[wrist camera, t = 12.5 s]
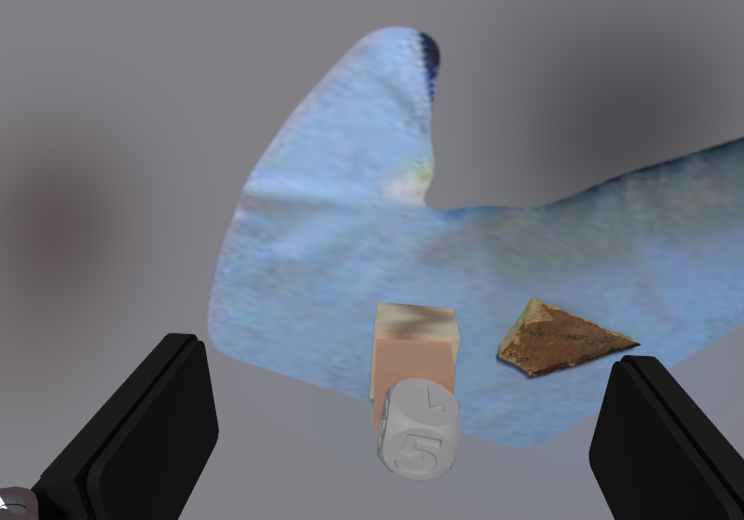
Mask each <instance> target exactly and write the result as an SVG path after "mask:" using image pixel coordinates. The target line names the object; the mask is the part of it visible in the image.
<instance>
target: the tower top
mask: <svg viewBox="0 0 744 520" xmlns="http://www.w3.org/2000/svg"><path fill="white" fill-rule="evenodd" d="M455 374H456V372H455V366H454V360H453V355H452V349H451V344H450V342H445V341H422V340H399V339H377V348H376V360H375V382H374V430H379V427H380V420H381V414H382V409H383V404H384V399H385V396H386V392H387V389H388V388H389V387H390V386H392V385H393V384H395V383H397V382H399V381H402V380H405V379H410V378H422V379H427V380H430V381H433V382H436V383H438V384H440V385H441V386H443V387H445V388H446V389H447V390H448V391H449V392H450V393H451V394H452V395H453V392H454V383H455Z"/></svg>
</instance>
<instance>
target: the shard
mask: <svg viewBox="0 0 744 520" xmlns="http://www.w3.org/2000/svg"><path fill="white" fill-rule="evenodd" d="M636 346H640V344H639V343H637V342H636V341H634V340H633V339H632V338H631V337H628V336H625V335H623V334H620V333H617V332H614V331H611V330H606V329H604V328H601V327H600V326H598V325H596V324H595V323H593V322H590V321H587V320H584V319H583V318H581V317H579V316H576V315H574V314H571V313H569V312H567V311H565V310H563V309H562V308H559V307H556V306H553V305H549V304H547V303H545V302H542V301H541V300H537V299H535V298H531V299H530V300H529V302H528V304H527V306H526V307H525V309H524V310H523V312H522V314H521V315H520V317H519V319H518V320H517V322H516V324H515V325H514V326H513V327H512V328H511V330H510V331H509V332H508V333H507V335H506V336H505V338H504V339H503V340H502V341H501V343H500V346H499V352H498V355H499V357H500V358H502V359H504V360H506V361H509V362H511V363H513V364H516V365H517V366H519V367H521V368H522V369H523V370H525V371H526V372H528V374H529V376H530V378H531V377H535V376H540V375H543V374H548V373H551V372H554V371H556V370H559V369H566V368H569V367H572V366H576V365H580V364H583V363H586V362H590V361H592V360H595V359H599V358H601V357H604V356H607V355H609V354H611V353H615V352H617V351H622V350H625V349H630V348H633V347H636Z"/></svg>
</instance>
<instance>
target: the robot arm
mask: <svg viewBox="0 0 744 520" xmlns="http://www.w3.org/2000/svg"><path fill="white" fill-rule="evenodd" d="M218 433H219V428H218V422H217V416H216V410H215V403H214V398H213V392H212V385H211V380H210V374H209V368H208V362H207V356H206V350H205V345H204V343H203V342H202V341H198V339H197V337H196V335H194V334H178V333H169V334H167V335H166V336H165V337H164V338H163V339H162V341H161V342H160V343H159V344H158V345H157V346H156V347H155V348H154V349H153V351H152V352H151V353H150V354H149V355H148V356H147V357H146V359H145V360H144V361H143V362H142V363H141V364H140V365H139V367H137V369H136V370H135V371H134V372H133V373H132V374H131V375H130V376H129V378H128V379H127V380H126V381H125V382H124V383H123V384H122V385H121V386H120V387H119V389H118V390H117V391H116V392H115V393H114V394H113V395H112V396H111V397H110V399H109V400H108V401H107V402H106V403H105V404H104V405H103V406H102V408H101V409H100V410H99V411H98V412H97V413H96V414H95V415H94V416H93V418H92V419H91V420H90V421H89V422H88V423H87V424H86V425H85V427H84V428H83V429H82V430H81V431H80V432H79V433H78V434H77V435H76V437H75V438H74V439H73V440H72V441H71V442H70V443H69V444H68V446H67V447H66V448H65V449H64V450H63V451H62V452H61V453H60V454H59V456H58V457H57V458H56V459H55V460H54V461H53V462H52V463H51V464H50V466H49V467H48V468H47V469H46V470H45V471H44V472H43V473H42V475H41V476H40V477H41V479H40V480H39V481H38V482H37V483H36V484H35V485H34V486H33V487H32V489H31V490H29V489H27V488H22V487H8V488H1V489H0V520H178V518H179V516H180V514H181V512H182V510H183V508H184V506H185V504H186V502H187V500H188V498H189V496H190V494H191V493H192V490H193V489H194V487H195V484H196V483H197V481H198V479H199V477H200V475H201V473H202V471H203V469H204V467H205V465H206V463H207V461H208V459H209V457H210V455H211V453H212V451H213V449H214V447H215V445H216V442H217V439H218ZM589 462H590V466H591V469H592V471H593V473H594V475H595V478H596V480H597V482H598V484H599V486H600V488H601V491H602V493H603V495H604V497H605V499H606V502H607V504H608V506H609V508H610V510H611V512H612V514H613V517H614V519H615V520H744V460H743V458H742V457H741V456H740V455H739V453H738V452H737V451H736V450H735V449H734V448H733V446H732V445H731V444H730V443H729V442H728V441H727V439H726V438H725V437H724V436H723V435H722V434H721V433H720V431H719V430H718V429H717V428H716V427H715V426H714V424H713V423H712V422H711V421H710V420H709V419H708V418H707V416H706V415H705V414H704V413H703V412H702V411H701V409H700V408H699V407H698V406H697V405H696V404H695V402H694V401H693V400H692V399H691V398H690V396H689V395H688V394H687V393H686V392H685V391H684V389H683V388H682V387H681V386H680V385H679V384H678V383H677V381H676V380H675V379H674V378H673V377H672V376H671V374H670V373H669V372H668V371H667V370H666V369H665V367H664V366H663V365H662V364H661V363H660V362H659V360H658V359H656V358H655V357H652V356H633V355H626V356H623V358H622V359H621V361H617V362H615V363H614V364H613V366H612V370H611V373H610V377H609V381H608V384H607V388H606V392H605V395H604V399H603V403H602V406H601V410H600V414H599V417H598V421H597V425H596V428H595V432H594V436H593V439H592V443H591V446H590V450H589Z"/></svg>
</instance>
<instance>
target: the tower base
mask: <svg viewBox="0 0 744 520" xmlns="http://www.w3.org/2000/svg"><path fill="white" fill-rule="evenodd" d="M377 339H399V340H422V341H445V342H450V344H451V349H452V355H453V360H454V366H455V365H456V359H457V353H458V347H459V341H460V336H459V331H458V327H457V322H456V318H455V313H454V309H452V308H440V307H429V306H417V305H405V304H394V303H382V302H378V304H377V314H376V324H375V334H374V347H373V360H372V373H371V386H370V398H374V382H375V360H376V348H377Z"/></svg>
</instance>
